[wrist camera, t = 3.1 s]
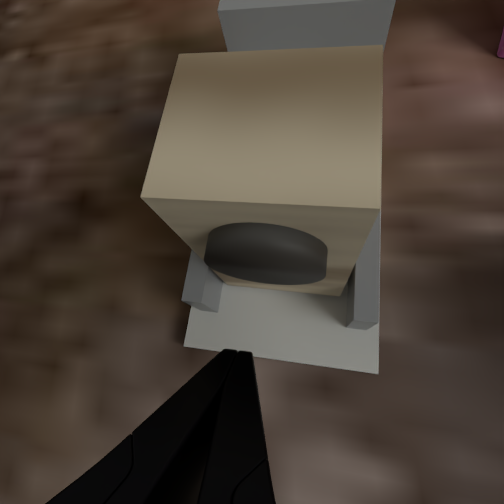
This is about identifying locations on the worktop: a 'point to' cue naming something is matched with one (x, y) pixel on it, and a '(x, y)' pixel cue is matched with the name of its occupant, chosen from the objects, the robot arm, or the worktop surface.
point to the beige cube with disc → (272, 163)
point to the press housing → (368, 263)
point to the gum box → (501, 46)
